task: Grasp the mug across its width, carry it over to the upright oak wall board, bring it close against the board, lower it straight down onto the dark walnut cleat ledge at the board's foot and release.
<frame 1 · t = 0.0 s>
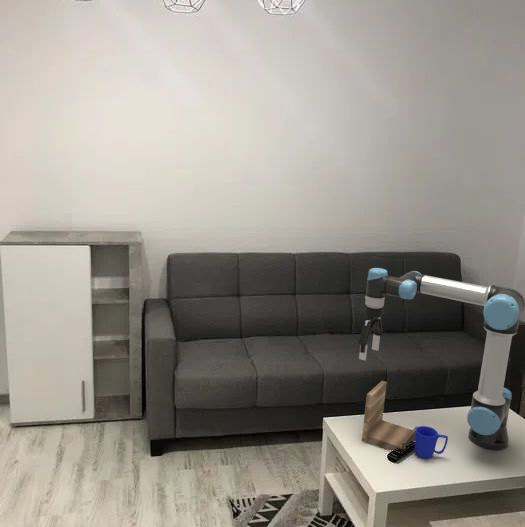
hand: (368, 354, 255), 28 cm above the table, fingers open, 13 cm apart
wall board: (371, 433, 247), on the table
mug: (428, 456, 234), on the table
cleat ledge: (390, 440, 243), on the table
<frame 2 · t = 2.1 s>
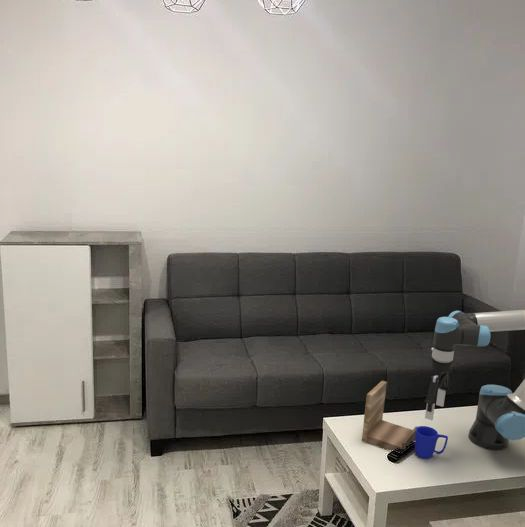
hand: (434, 412, 229), 18 cm above the table, fingers open, 13 cm apart
nothing on the table moved.
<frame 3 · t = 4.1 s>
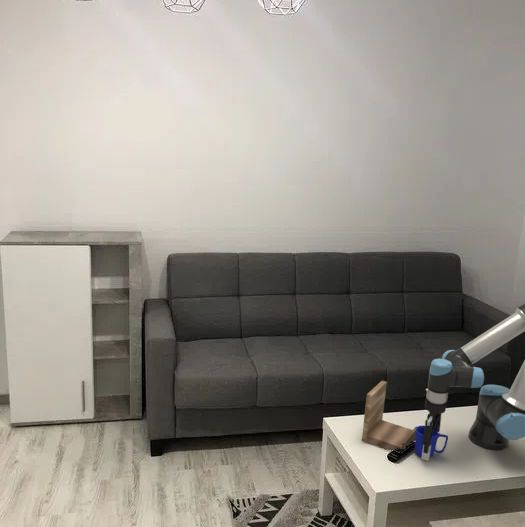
hand: (428, 455, 233), 0 cm above the table, fingers closed on mug, 7 cm apart
mug: (428, 455, 234), on the table, touching gripper
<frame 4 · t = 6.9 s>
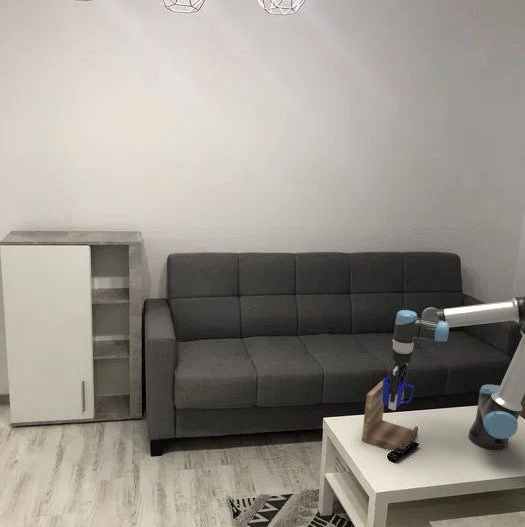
hand: (395, 405, 239), 15 cm above the table, fingers closed on mug, 7 cm apart
mug: (396, 405, 240), point 15 cm above the table, touching gripper
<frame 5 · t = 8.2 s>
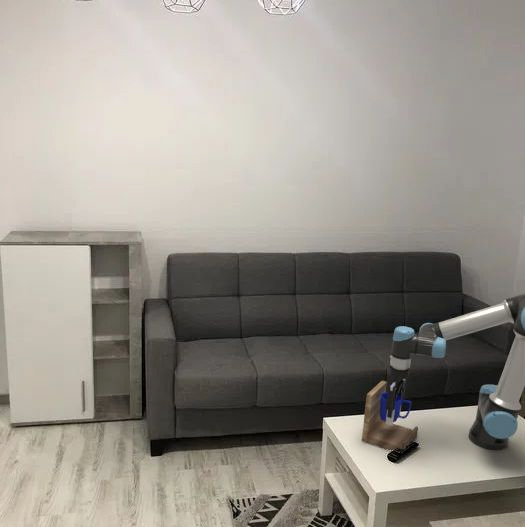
hand: (392, 420, 241), 9 cm above the table, fingers closed on mug, 7 cm apart
mug: (393, 420, 242), point 8 cm above the table, touching gripper
when the fingers open (4 cm above the table, at t = 9.3 s): mug drops 1 cm, resting on cleat ledge.
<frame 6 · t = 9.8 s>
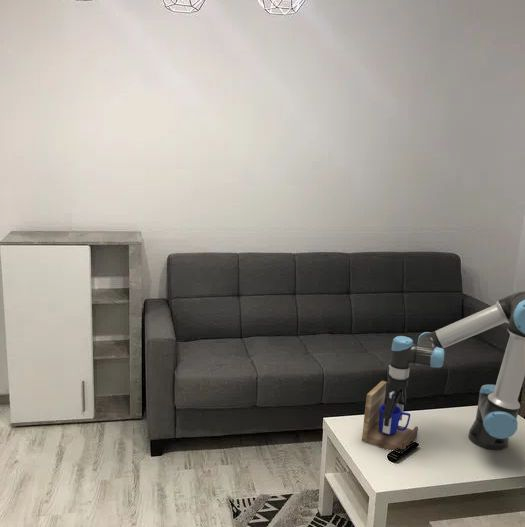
hand: (392, 425, 242), 6 cm above the table, fingers open, 13 cm apart
mug: (392, 432, 243), point 3 cm above the table, touching cleat ledge
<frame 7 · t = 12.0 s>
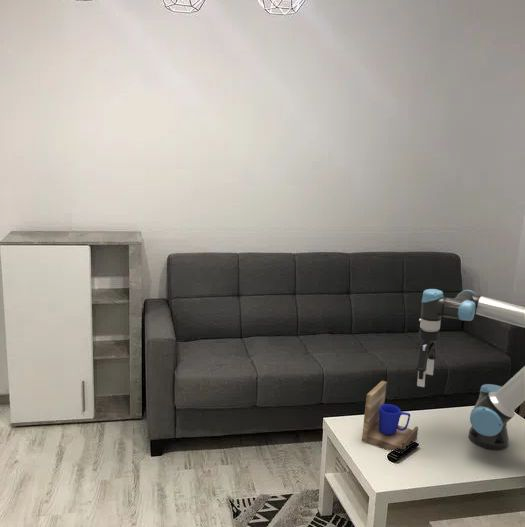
hand: (425, 380, 242), 24 cm above the table, fingers open, 13 cm apart
nothing on the table moved.
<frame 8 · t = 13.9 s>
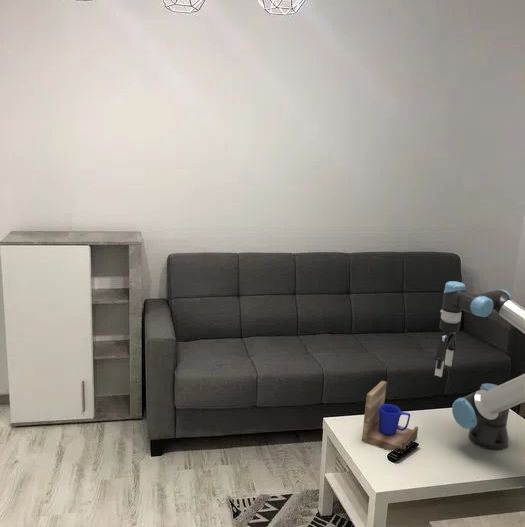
hand: (443, 370, 247), 27 cm above the table, fingers open, 13 cm apart
nothing on the table moved.
at the end: mug inside the target area on the cleat ledge (0.7 cm from its centre), point 2.8 cm above the cleat ledge's base; mug touching cleat ledge; mug tilted 0° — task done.
